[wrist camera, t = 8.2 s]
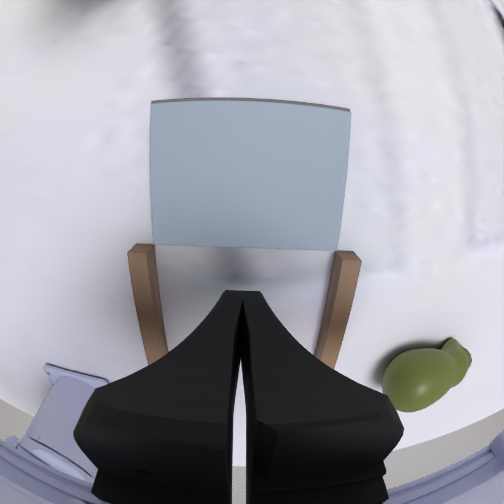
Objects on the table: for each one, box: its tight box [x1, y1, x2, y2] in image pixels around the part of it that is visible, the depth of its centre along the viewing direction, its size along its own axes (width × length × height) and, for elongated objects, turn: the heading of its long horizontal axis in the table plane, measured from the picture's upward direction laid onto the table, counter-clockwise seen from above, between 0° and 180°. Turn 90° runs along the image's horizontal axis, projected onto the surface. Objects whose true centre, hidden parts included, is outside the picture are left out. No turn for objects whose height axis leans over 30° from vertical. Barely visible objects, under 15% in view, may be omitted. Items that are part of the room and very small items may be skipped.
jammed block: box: [150, 101, 351, 251], centre depth 13 cm, size 6×8×4 cm
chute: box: [127, 244, 362, 369], centre depth 18 cm, size 10×13×2 cm
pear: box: [382, 339, 472, 412], centre depth 19 cm, size 6×5×10 cm
